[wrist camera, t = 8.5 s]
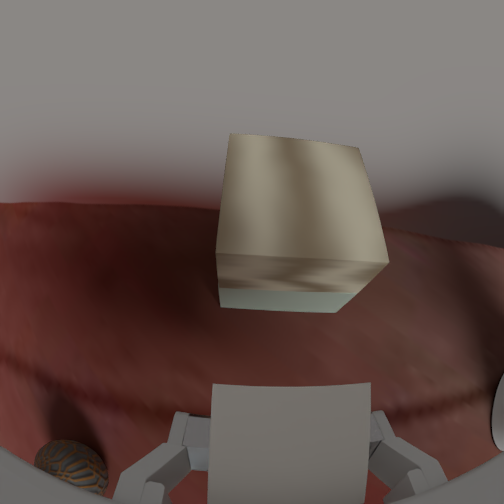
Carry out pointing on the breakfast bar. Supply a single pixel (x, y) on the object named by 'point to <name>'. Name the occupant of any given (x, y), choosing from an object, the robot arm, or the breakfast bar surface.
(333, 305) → the tower base
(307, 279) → the tower top
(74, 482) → the vase
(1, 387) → the breakfast bar surface
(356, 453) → the offwhite block
